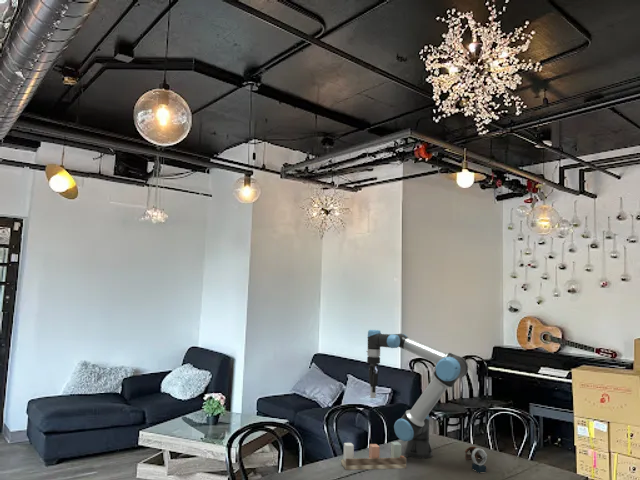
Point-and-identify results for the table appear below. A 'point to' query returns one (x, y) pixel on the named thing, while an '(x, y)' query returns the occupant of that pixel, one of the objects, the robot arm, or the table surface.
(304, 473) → the table surface
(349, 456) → the off-white key
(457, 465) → the table surface
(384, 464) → the birch key console
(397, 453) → the pale green upright block
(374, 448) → the terracotta key
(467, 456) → the pottery mug
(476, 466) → the small desk fan
